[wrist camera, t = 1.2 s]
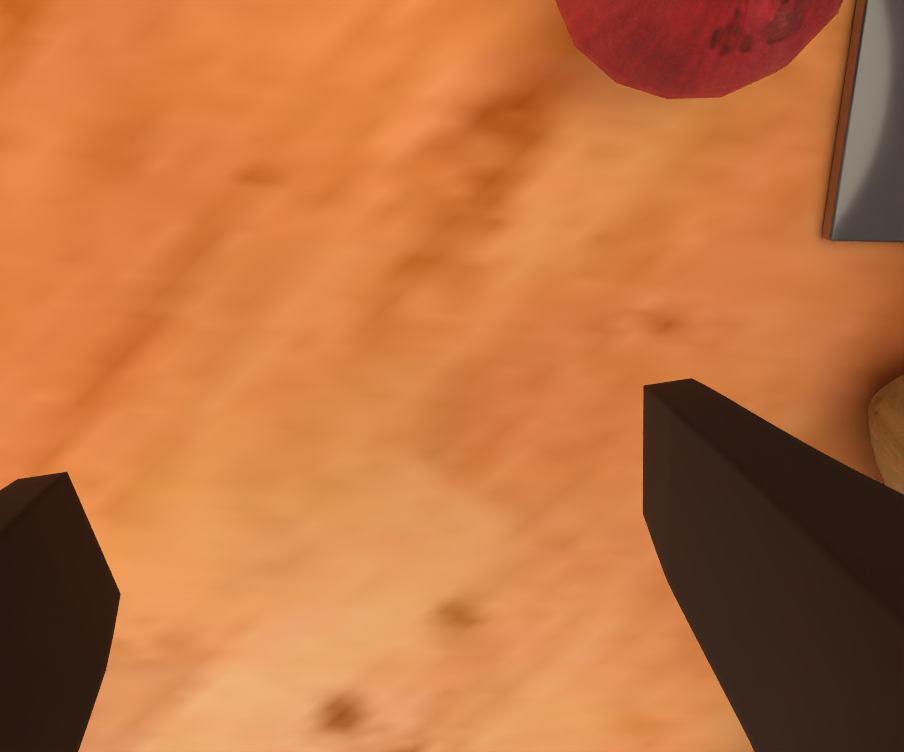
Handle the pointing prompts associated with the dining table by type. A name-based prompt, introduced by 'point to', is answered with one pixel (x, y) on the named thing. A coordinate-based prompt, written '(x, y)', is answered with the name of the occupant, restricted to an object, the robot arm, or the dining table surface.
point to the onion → (693, 40)
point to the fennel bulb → (889, 432)
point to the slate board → (870, 131)
